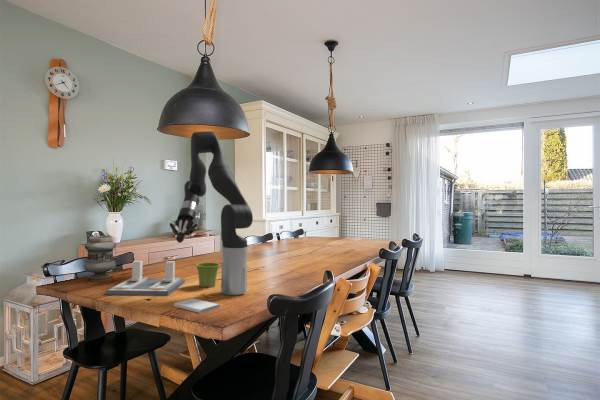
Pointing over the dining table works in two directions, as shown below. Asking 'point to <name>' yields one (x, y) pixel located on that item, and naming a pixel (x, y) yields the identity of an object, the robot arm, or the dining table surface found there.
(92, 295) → the dining table surface
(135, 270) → the tab
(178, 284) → the switch board
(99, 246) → the apothecary jar
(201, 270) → the plant pot
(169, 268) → the tab
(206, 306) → the external hard drive
